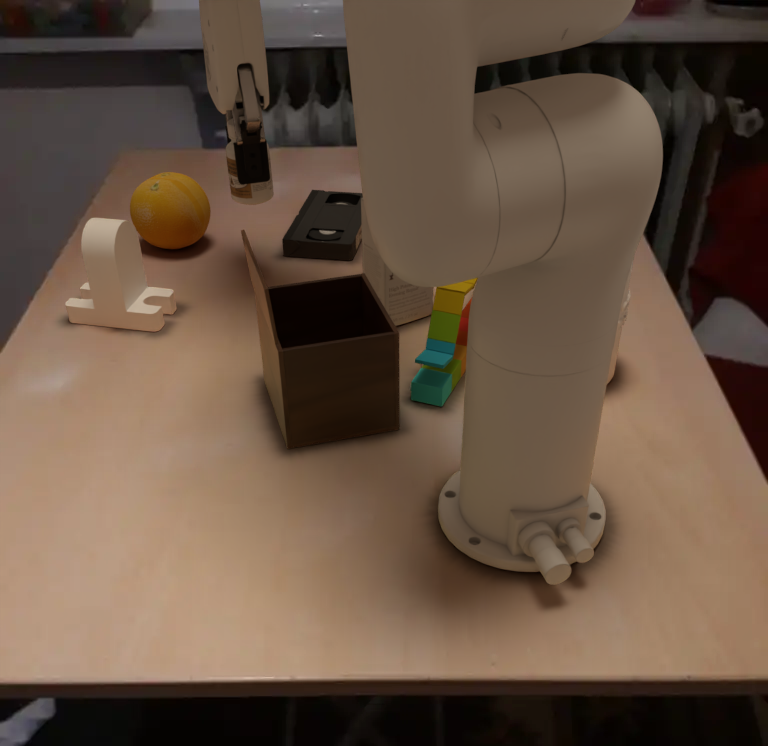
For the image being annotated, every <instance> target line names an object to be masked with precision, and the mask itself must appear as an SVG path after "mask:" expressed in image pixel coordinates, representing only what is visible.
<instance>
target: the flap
mask: <svg viewBox="0 0 768 746" xmlns="http://www.w3.org/2000/svg"><path fill="white" fill-rule="evenodd" d="M240 234H241V238H242V244H243V247H244V248H243V249H244V252H245V256H246V263H247V267H248V271H249V272H248V273H249V277H250V281H251V284H252V285H251V286H252V287H253V291H254V290H255V292H254V294H255V293H256V295H257V298H258V301H259V303H260V306H261V309H262V311H263V314H264V316H265V319H266V322H267V324H268V327H269V330H270V332H271V335H272V338H273V340H274V343H275V345H276V344H279V342H278V337H277V332H276V327H275V322H274V317H273V311H272V306H271V301H270V296H269V291H268V287H269V286H268V285H267V283H266V280H265V278H264V275H263V273H262V270H261V268H260V265H259V263H258V259H257V257H256V255H255V253H254V249H253V248H252V245H251V243H250V240H249V237H248V236H247V233H246V231H245V229H241V230H240Z"/></svg>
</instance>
